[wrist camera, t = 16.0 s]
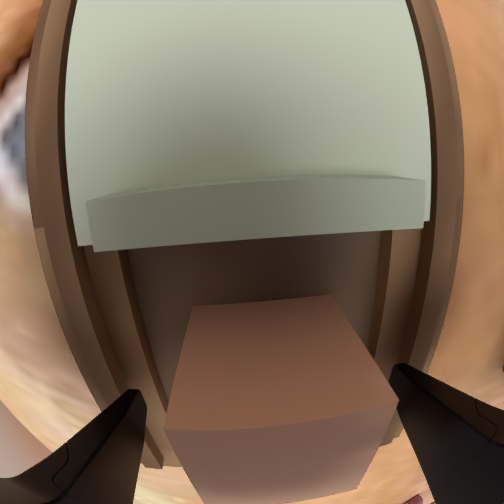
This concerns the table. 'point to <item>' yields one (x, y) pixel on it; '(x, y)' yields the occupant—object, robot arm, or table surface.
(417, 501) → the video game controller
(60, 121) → the board
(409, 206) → the lid
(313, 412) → the block
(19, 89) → the table surface
